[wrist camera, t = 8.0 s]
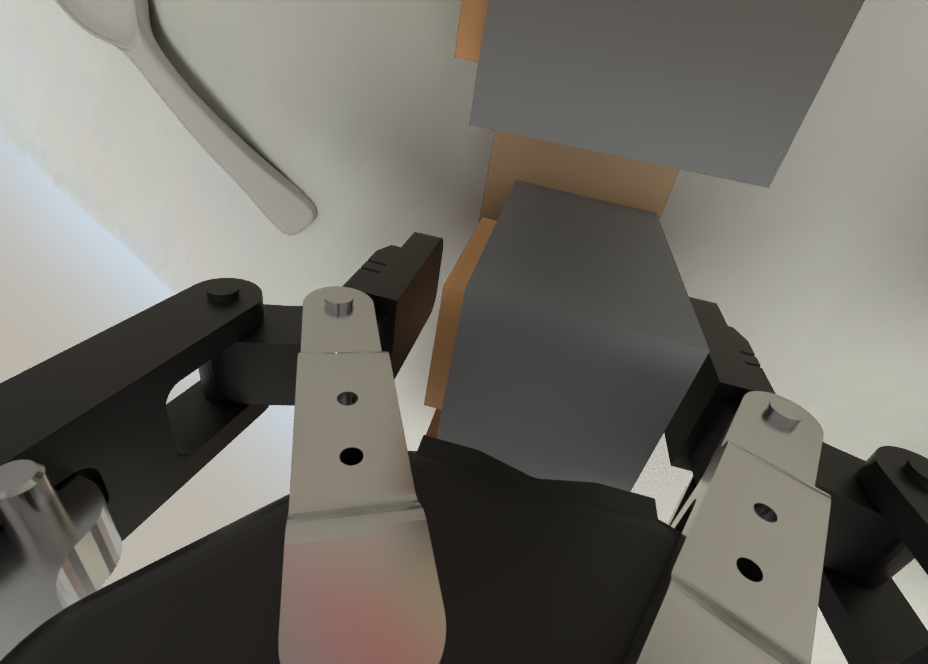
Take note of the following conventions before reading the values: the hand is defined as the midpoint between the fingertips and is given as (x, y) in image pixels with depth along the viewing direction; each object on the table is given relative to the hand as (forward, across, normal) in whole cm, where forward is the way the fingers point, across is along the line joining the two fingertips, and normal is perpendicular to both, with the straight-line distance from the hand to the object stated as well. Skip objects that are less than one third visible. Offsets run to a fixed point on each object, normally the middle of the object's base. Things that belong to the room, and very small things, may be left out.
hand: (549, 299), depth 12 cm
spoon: (+6, +14, -2) cm, 15 cm away
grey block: (+3, 0, 0) cm, 3 cm away
